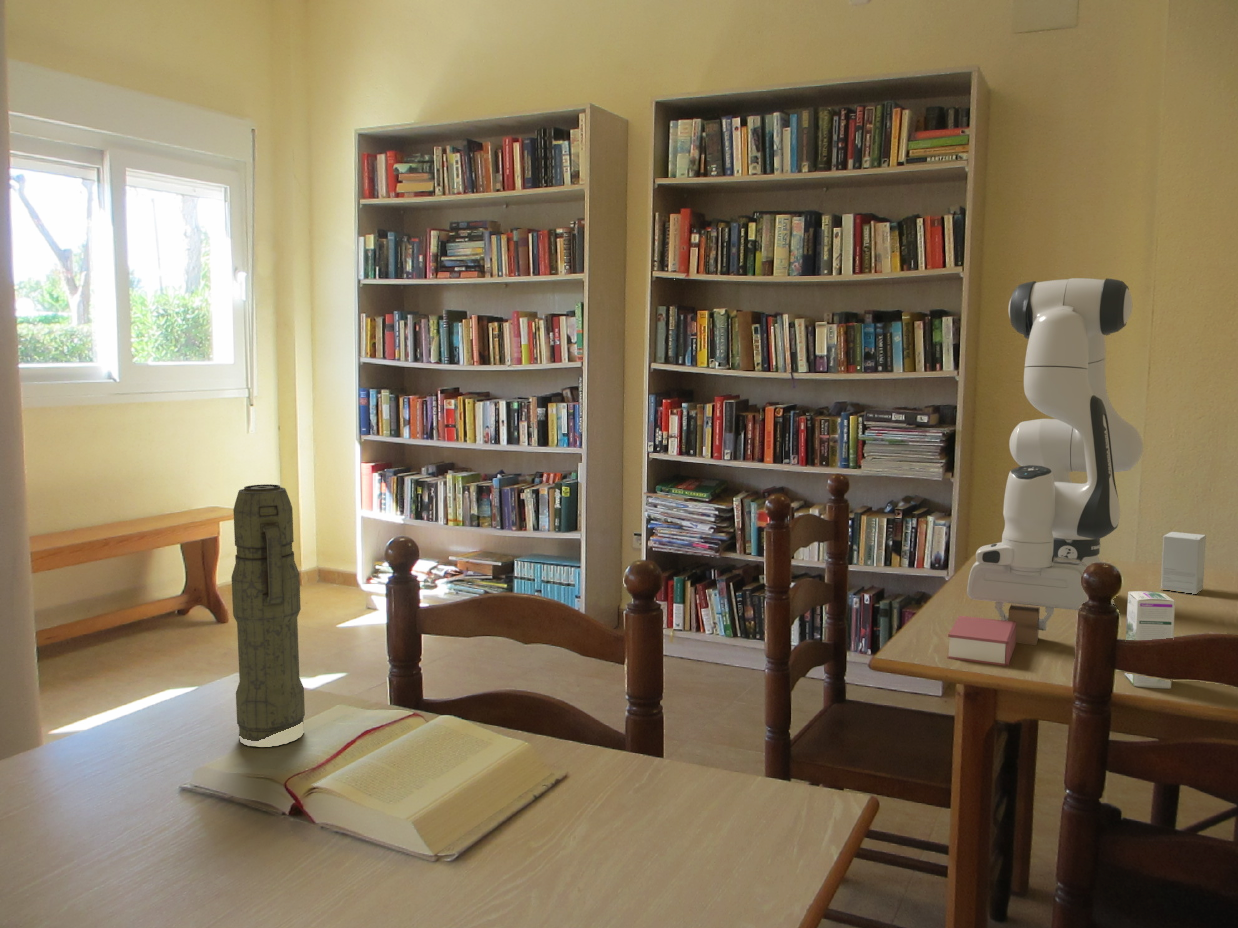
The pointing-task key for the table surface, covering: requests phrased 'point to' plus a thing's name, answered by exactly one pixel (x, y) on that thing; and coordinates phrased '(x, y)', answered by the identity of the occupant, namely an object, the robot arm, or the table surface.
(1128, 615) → the syrup box
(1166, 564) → the supplement box
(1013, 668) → the table surface
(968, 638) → the book
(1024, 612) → the walnut block
